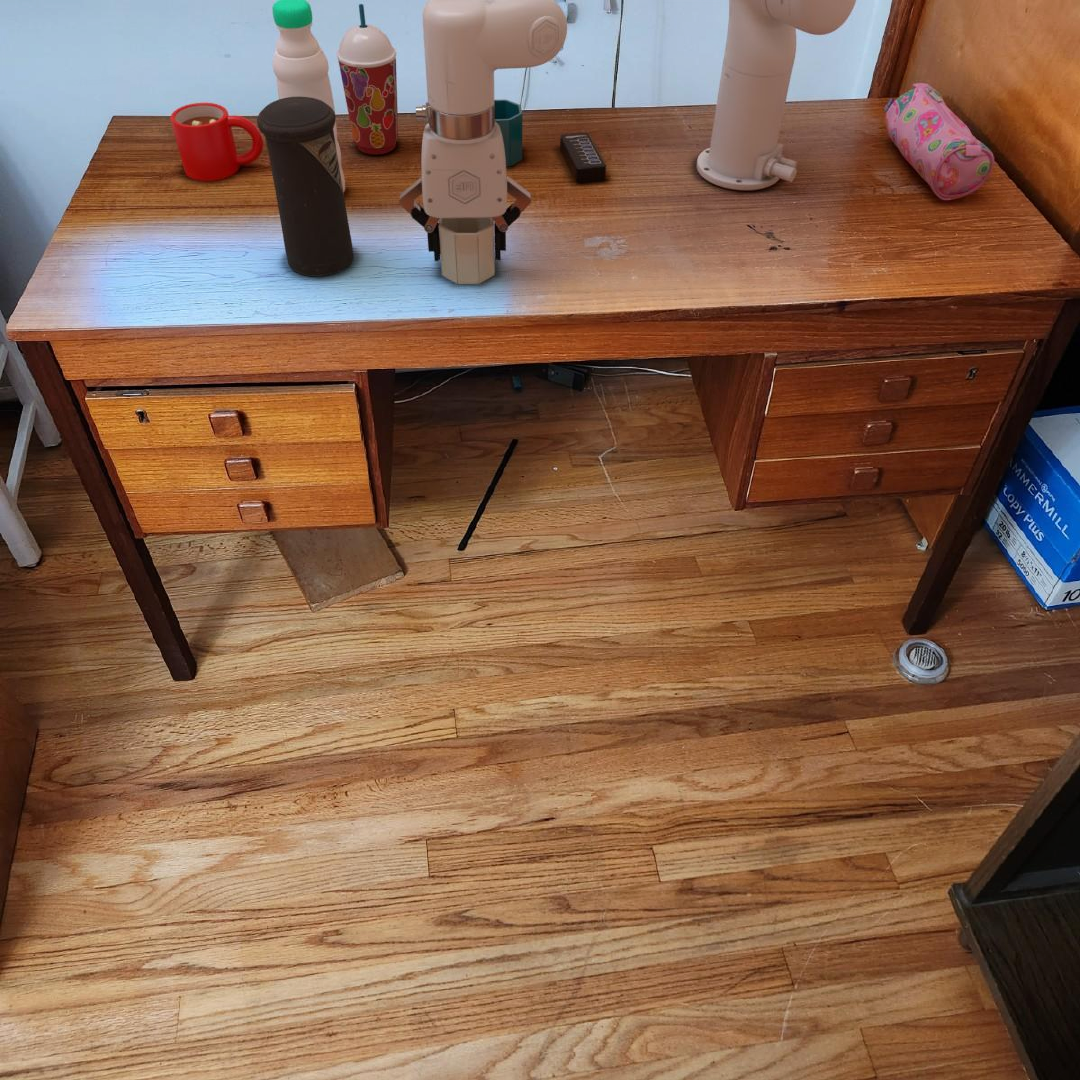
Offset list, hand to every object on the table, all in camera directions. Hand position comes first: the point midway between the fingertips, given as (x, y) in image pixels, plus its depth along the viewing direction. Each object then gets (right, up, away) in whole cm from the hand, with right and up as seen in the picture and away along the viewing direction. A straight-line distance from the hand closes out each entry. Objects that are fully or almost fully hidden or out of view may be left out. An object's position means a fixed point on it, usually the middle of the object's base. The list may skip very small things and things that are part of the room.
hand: (467, 254), depth 123 cm
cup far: (+2, +21, +22) cm, 30 cm away
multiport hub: (+16, +20, +21) cm, 33 cm away
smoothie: (-16, +23, +24) cm, 37 cm away
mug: (-37, +18, +19) cm, 45 cm away
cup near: (0, 0, +3) cm, 3 cm away
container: (-19, 0, +3) cm, 20 cm away
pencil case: (+68, +19, +22) cm, 74 cm away
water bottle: (-22, +13, +14) cm, 29 cm away
